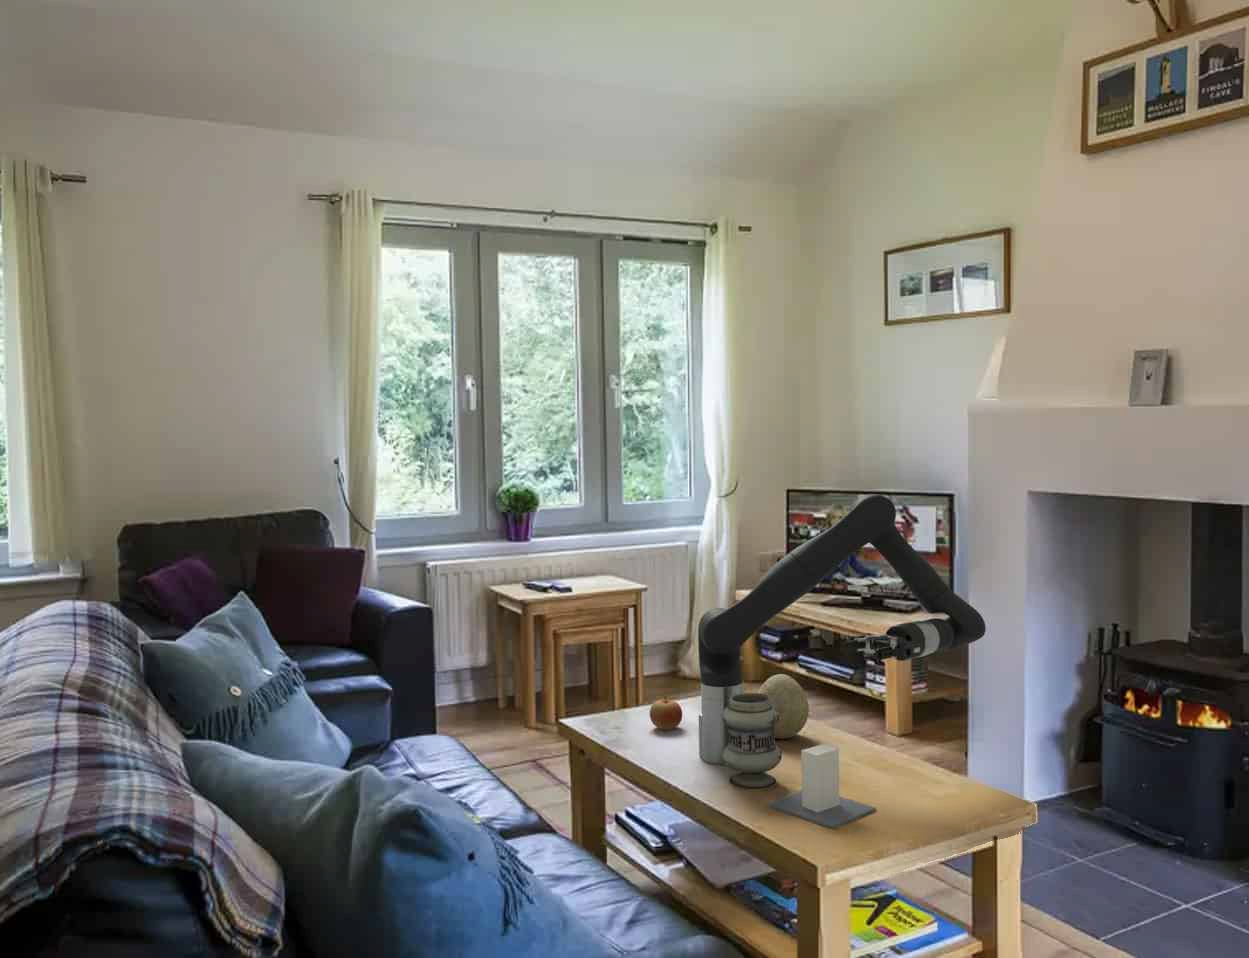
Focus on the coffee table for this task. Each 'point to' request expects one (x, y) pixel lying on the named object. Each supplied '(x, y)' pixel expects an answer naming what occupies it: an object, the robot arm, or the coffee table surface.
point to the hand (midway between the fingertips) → (860, 651)
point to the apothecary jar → (751, 741)
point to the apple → (665, 714)
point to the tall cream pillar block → (820, 777)
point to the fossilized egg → (787, 704)
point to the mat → (827, 817)
